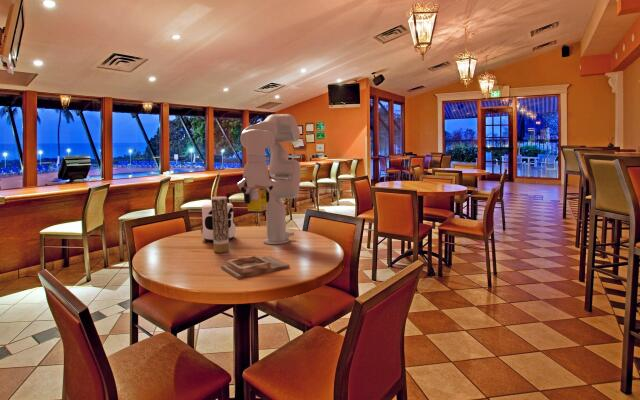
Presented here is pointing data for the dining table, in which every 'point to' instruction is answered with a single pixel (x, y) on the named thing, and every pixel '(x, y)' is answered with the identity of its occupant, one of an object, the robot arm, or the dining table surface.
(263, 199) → the supplement box
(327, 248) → the dining table surface
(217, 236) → the wooden log
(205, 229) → the milk container
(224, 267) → the board
